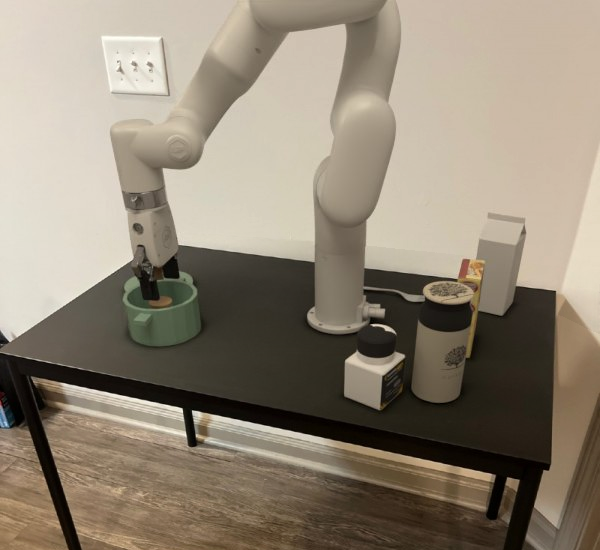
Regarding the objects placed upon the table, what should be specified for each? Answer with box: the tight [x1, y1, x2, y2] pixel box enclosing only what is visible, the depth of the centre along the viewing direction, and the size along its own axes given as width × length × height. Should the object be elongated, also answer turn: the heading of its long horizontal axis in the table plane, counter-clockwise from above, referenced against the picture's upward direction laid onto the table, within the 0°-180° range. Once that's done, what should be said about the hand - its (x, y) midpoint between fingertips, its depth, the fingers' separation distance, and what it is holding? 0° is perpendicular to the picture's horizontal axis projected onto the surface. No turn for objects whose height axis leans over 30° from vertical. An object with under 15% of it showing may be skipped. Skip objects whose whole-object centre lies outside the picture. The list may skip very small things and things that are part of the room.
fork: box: [363, 285, 425, 303], centre depth 131 cm, size 3×24×2 cm, turn 63°
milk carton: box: [475, 212, 527, 317], centre depth 121 cm, size 7×7×19 cm
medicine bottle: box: [343, 323, 406, 411], centre depth 97 cm, size 7×7×12 cm
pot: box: [122, 278, 202, 347], centre depth 118 cm, size 14×19×8 cm
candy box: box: [456, 258, 485, 359], centre depth 108 cm, size 9×4×15 cm, turn 162°
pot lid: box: [123, 267, 194, 293], centre depth 135 cm, size 15×15×6 cm
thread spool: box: [149, 296, 173, 309], centre depth 118 cm, size 4×4×6 cm
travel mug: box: [410, 280, 474, 404], centre depth 95 cm, size 8×8×18 cm
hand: (162, 288), depth 115 cm, fingers open, 9 cm apart
